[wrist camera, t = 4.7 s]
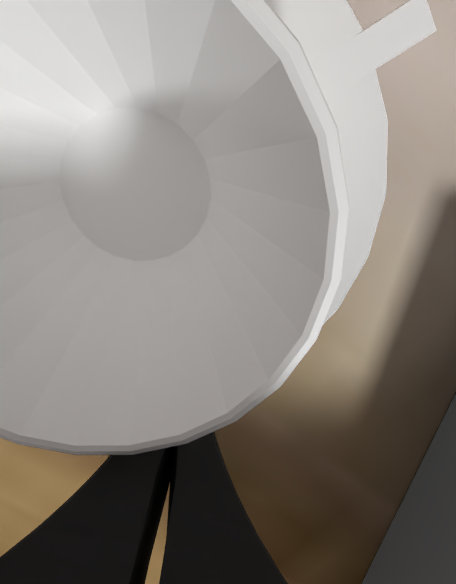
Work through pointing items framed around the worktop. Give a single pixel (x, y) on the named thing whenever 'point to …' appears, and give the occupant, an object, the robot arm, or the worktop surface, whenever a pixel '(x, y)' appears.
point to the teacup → (179, 206)
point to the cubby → (424, 520)
